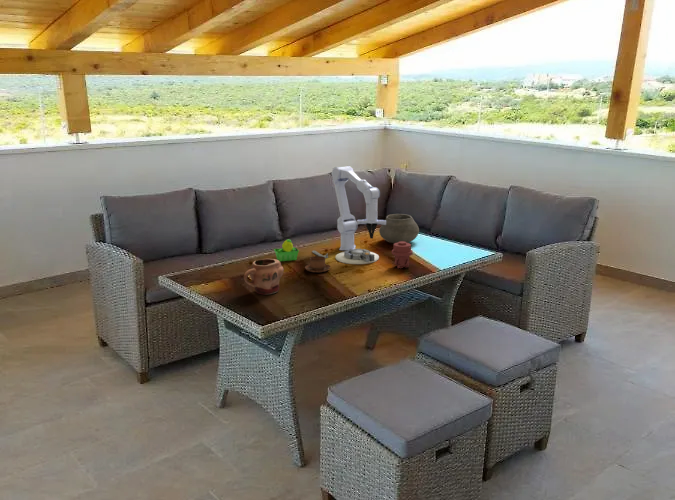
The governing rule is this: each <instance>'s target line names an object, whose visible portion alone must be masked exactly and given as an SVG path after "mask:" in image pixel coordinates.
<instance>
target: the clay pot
mask: <svg viewBox="0 0 675 500" xmlns="http://www.w3.org/2000/svg"><path fill="white" fill-rule="evenodd" d="M384 220H386V225H384V224H380V225H381V226H380V227H379V230H378V231H379V235H380V237H381V238H382V239H383V240H384V241H385V242H388V243H390V244H394V243H398V242H400V241H404V242H406V243H410V242H412V241H414V240H415V239H416V238H417V237H418V235H419V233H420V228H419V226H418V223H417V222H416V221H415V220H414V218H413V217H412V216H411V215H410V214H405V213H393V214H391V213H390V214H388V215H386V217H385V219H384Z"/></svg>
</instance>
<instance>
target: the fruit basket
mask: <svg viewBox="0 0 675 500" xmlns="http://www.w3.org/2000/svg"><path fill="white" fill-rule="evenodd" d="M281 247H282V248H274V249H273V250H274V253H275V256H276V257H275V258H276V260H279V261H280V262H290V261H297V259H298V255H299V251H300V250H299V249H298V248H297V247H295V246H294V245H293V243H292V240H291V239H290V238H289V239H286V240H284V241H283V243H282V245H281Z"/></svg>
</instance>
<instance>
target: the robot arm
mask: <svg viewBox="0 0 675 500" xmlns="http://www.w3.org/2000/svg"><path fill="white" fill-rule="evenodd" d="M330 174H331V177H332V178H331V179H332V182H333V183H332V184H333V185H334V191H335V196H336V200H337V203H338V204H337V205H338V210H339V215H340V216H339V217H338V218H337V220H336V222H337V225H336V226H337V227H336V228H337V230H338V232H339V234H340V247H339V249H338V250H339V251H346V250H349V249H356V244H355V233H356V231H357V229H358V225H365V227H366V229H367V231H368V234H369V239H371V240H372V239H373V238H374V235H375V234H374V233H375V231H376V228H377V226H378V225H382V224H384V225H386V220H385V219H378V210H379V209H378V202H379V201H378V200H379V198H380V197H381V191H380V189H379V188H378V187H376V186H375V187H374V186H372V185H371V184H370V183H369V182H368V181H367V180H366V179H361V178H360V177H359V175H358V174H356V173H355V171H354V168H353V167H352V166H350V165H346V166H335V167H333V168H332V171H331V173H330ZM348 181H351V182H352V183H354V185H356V189H357V190H358V191H359V192H361V193H362V194H363V197H364V202H365V218H364V219H357V220H356V217H355V215H353V214H351V210H350V205H349V201H348V197H347V190H346V187H345V186H346V183H347V182H348Z"/></svg>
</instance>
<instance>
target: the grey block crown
mask: <svg viewBox="0 0 675 500" xmlns="http://www.w3.org/2000/svg"><path fill="white" fill-rule="evenodd" d="M353 250H362V251H363V252H362V254H361V255H356V254H351V251H353ZM343 252H344V257H345V258H348V259H352V258H353V259H358V260H360V259H362V260H364V261H366V262H369V261H370V254H369V253H370V252H371V251H370V250H368V249H365V248H363V249H362V248H355V249H349V250H344V251H343Z"/></svg>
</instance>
